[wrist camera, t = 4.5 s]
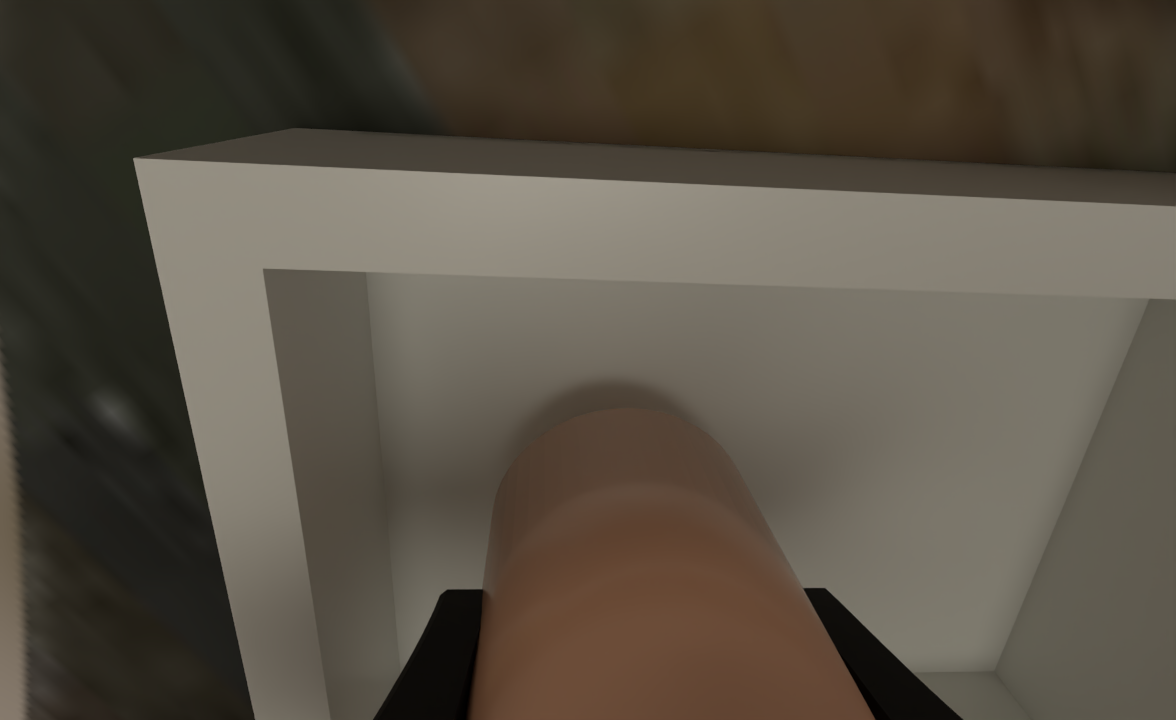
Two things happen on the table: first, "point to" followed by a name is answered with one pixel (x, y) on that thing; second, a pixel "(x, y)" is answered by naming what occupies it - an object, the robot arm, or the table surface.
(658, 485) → the cylinder
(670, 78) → the table surface
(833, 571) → the tote
